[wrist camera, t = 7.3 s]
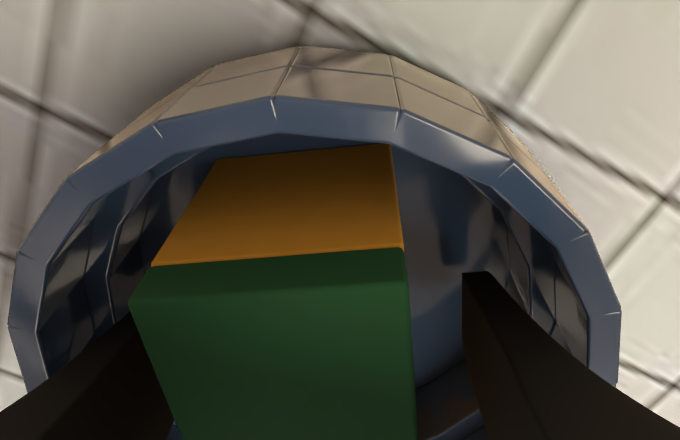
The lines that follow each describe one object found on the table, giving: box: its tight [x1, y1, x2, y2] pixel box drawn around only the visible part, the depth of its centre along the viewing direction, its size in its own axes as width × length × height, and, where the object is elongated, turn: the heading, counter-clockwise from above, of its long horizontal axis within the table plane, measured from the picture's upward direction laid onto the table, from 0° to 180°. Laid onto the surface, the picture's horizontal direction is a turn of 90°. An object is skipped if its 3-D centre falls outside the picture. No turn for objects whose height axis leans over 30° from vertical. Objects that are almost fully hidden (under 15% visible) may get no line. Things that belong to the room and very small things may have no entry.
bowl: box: [7, 46, 621, 440], centre depth 13 cm, size 12×12×4 cm
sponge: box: [128, 143, 419, 440], centre depth 12 cm, size 8×4×6 cm, turn 7°
